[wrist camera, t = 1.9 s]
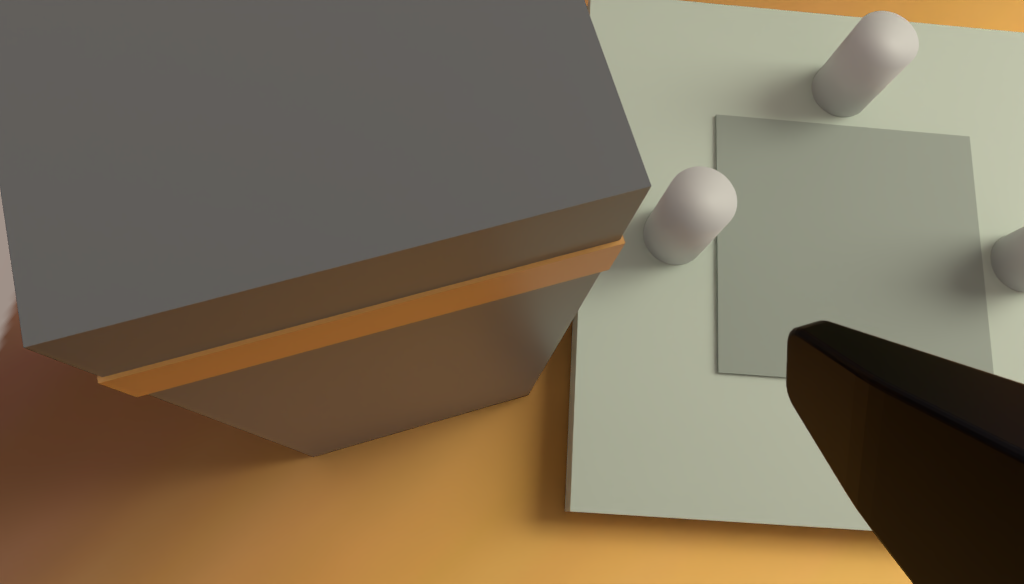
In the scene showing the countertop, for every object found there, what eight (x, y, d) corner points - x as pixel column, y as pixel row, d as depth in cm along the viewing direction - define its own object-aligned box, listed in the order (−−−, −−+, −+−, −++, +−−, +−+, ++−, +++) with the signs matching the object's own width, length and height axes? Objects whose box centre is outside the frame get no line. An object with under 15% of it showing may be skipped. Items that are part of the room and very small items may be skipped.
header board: (1115, 546, 20) (1247, 553, 17) (564, 511, 20) (587, 511, 16) (1049, 56, 24) (1145, -18, 21) (585, 13, 23) (606, -71, 20)
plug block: (530, 396, 20) (658, 189, 7) (311, 459, 20) (17, 355, 7) (470, 196, 22) (488, -279, 9) (263, 248, 21) (-61, -187, 8)
